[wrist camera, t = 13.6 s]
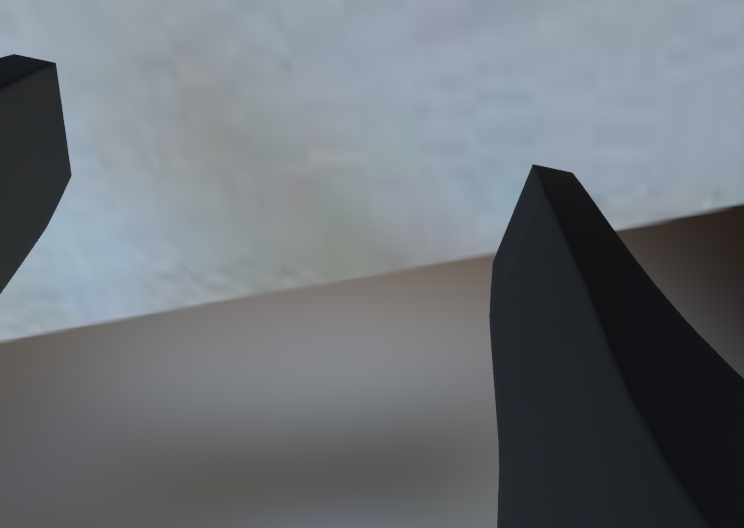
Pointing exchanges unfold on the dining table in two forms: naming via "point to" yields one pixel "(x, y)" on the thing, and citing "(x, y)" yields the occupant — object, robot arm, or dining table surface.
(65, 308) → the dining table surface
